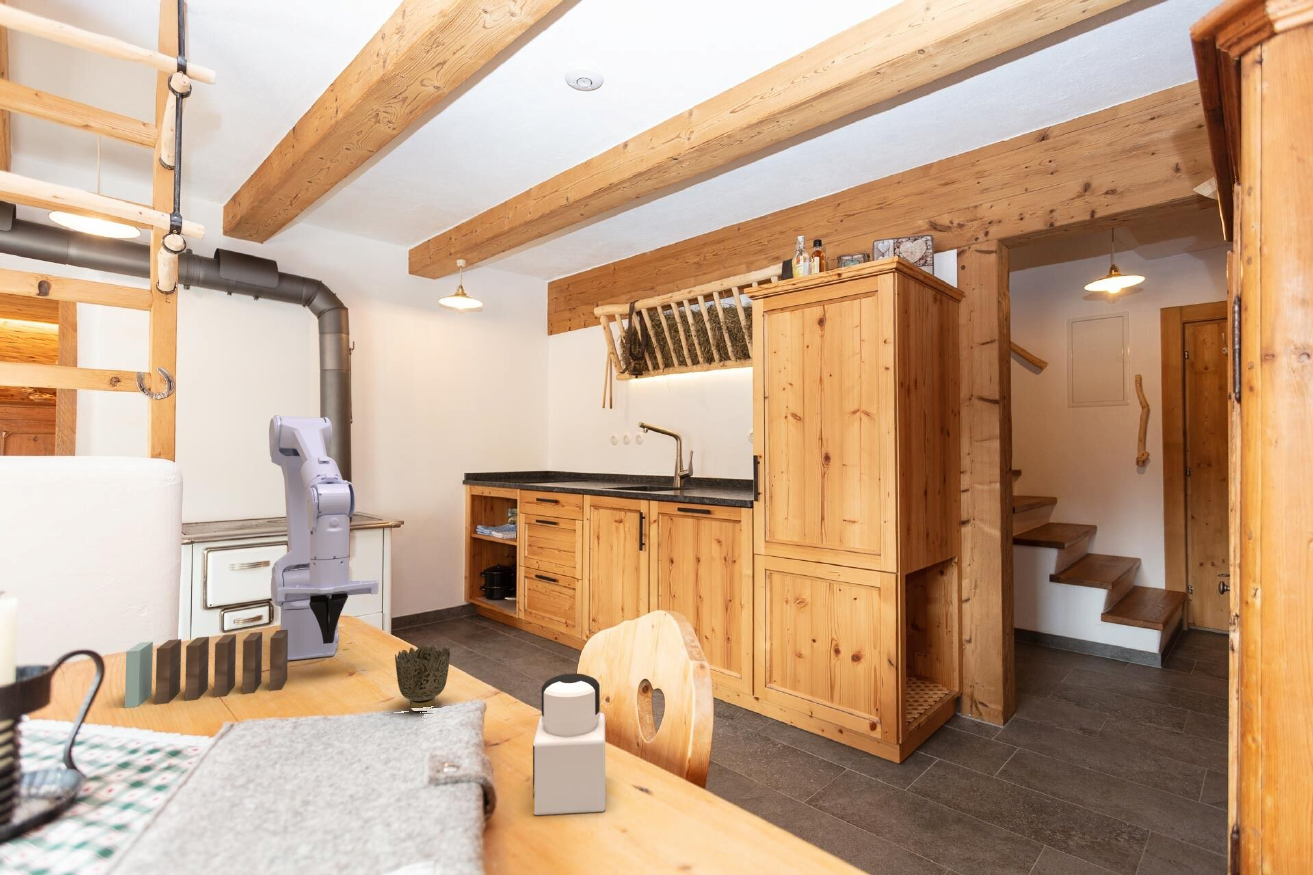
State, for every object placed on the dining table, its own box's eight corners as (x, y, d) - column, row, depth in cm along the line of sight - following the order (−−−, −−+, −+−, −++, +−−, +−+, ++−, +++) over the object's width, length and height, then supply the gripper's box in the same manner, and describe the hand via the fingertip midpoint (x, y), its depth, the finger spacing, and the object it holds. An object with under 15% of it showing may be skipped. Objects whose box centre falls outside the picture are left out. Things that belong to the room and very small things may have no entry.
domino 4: (235, 685, 100) (236, 634, 101) (226, 696, 96) (227, 642, 96) (223, 686, 100) (224, 635, 100) (214, 697, 95) (215, 643, 95)
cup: (382, 714, 88) (382, 656, 88) (419, 696, 95) (419, 642, 95) (426, 722, 85) (426, 661, 86) (461, 702, 92) (461, 646, 93)
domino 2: (180, 691, 98) (181, 638, 98) (168, 702, 93) (169, 647, 93) (167, 692, 97) (168, 639, 98) (155, 704, 93) (156, 648, 93)
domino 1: (151, 694, 97) (152, 641, 97) (138, 706, 92) (139, 650, 92) (138, 696, 96) (140, 642, 96) (124, 708, 91) (126, 651, 92)
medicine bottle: (539, 780, 70) (539, 669, 70) (605, 777, 70) (604, 666, 71) (532, 816, 62) (532, 692, 63) (605, 812, 63) (605, 689, 64)
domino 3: (208, 688, 99) (209, 636, 99) (198, 699, 94) (199, 644, 95) (195, 689, 99) (196, 637, 99) (185, 701, 94) (186, 646, 94)
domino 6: (287, 679, 103) (287, 629, 103) (281, 689, 98) (282, 637, 99) (275, 680, 102) (276, 630, 103) (269, 691, 98) (270, 638, 98)
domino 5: (261, 682, 102) (262, 631, 102) (254, 692, 97) (255, 639, 97) (249, 683, 101) (250, 632, 101) (242, 694, 96) (243, 640, 97)
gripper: (273, 563, 97) (272, 653, 97) (377, 557, 103) (376, 643, 102) (282, 557, 104) (281, 641, 103) (379, 552, 109) (378, 632, 109)
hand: (328, 641), depth 103 cm, fingers closed
